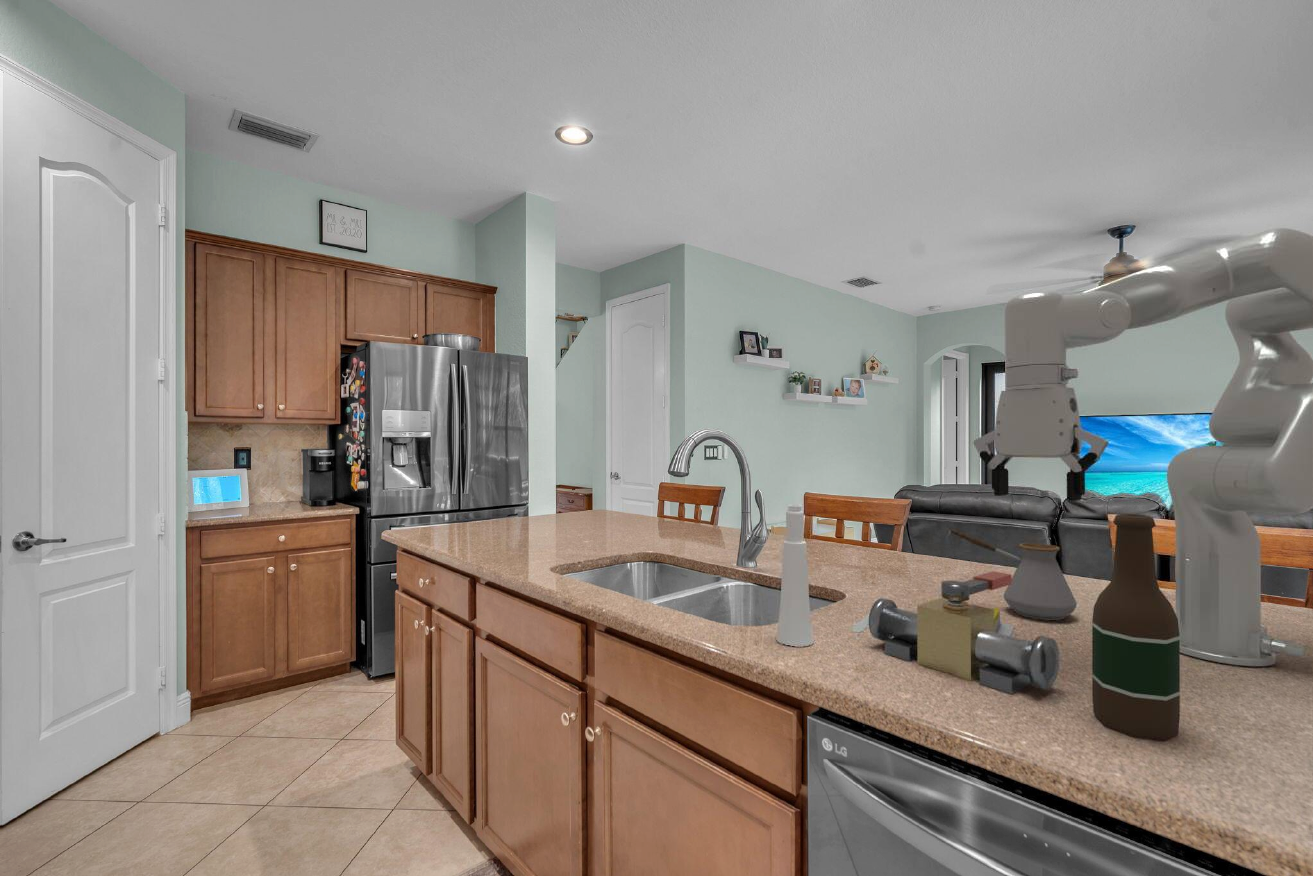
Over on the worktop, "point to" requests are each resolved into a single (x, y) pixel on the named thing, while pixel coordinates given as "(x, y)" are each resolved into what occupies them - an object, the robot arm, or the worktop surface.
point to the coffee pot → (1035, 581)
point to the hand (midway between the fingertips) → (1036, 497)
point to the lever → (974, 585)
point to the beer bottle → (1136, 641)
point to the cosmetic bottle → (794, 585)
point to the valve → (964, 644)
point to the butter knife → (861, 624)
